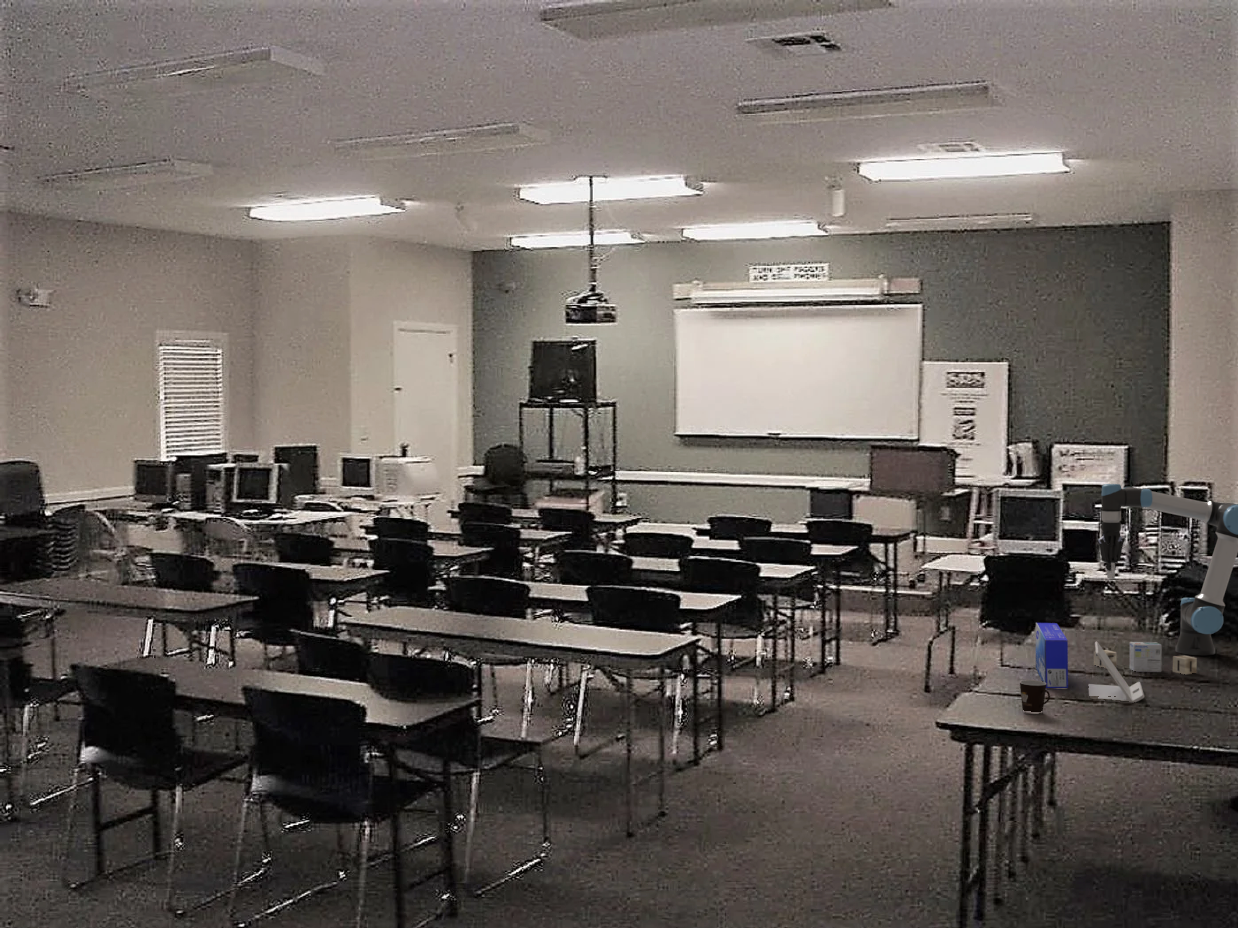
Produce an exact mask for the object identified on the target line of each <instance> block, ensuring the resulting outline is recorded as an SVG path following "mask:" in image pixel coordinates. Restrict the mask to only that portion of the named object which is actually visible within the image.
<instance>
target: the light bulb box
mask: <svg viewBox="0 0 1238 928" xmlns="http://www.w3.org/2000/svg"><path fill="white" fill-rule="evenodd" d="M1162 648H1163V647H1162V644H1161V643H1158V642H1157V641H1154V642H1153V641H1129V669H1130V670H1131V671H1132V670H1133V671H1132V672H1134V671H1136V673H1139V672H1143V673H1146V672H1147V673H1148V672H1149V673H1161V672H1162V656H1163V655H1162V654H1163V653H1162Z"/></svg>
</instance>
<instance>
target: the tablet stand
mask: <svg viewBox="0 0 1238 928" xmlns="http://www.w3.org/2000/svg"><path fill="white" fill-rule="evenodd" d="M1094 646H1095V648H1094V649H1095V651H1096V654H1097V656H1098V657H1099V658H1100V660H1101V661H1102V663H1103V664H1104V666H1105V667H1106V668H1105V669H1106V670H1107V671H1108V673H1109V674H1110V676H1111V677H1112V679H1113V680H1114V681H1115V683H1116V684H1117V685H1108V684H1093V683H1088V686H1089V688H1088V697H1089V696H1099V697H1098V699H1112V700H1121V701H1129V702H1128V703H1134V702H1135V703H1137V702H1139V701H1141V700H1143V699H1144V698H1145V693H1144V689H1143V686H1142V683H1141V682H1140V681H1137V682H1136V683H1134V684H1132V685H1131V686H1129V685H1128V683H1127V682H1126V680H1125V678H1123V676H1122V674H1121V673H1120V671H1118V669H1117V666H1116V667H1115V666H1114V665H1113V663H1112V662H1111V660H1110V659H1109V657H1108V656H1107V655H1106V653H1105V652H1104V650H1105V649H1103V647H1102V646H1101V645H1100V643H1099V642H1098V640H1097V641H1095V642H1094ZM1088 686H1087V687H1088ZM1108 696H1111V697H1108ZM1114 696H1116V697H1114Z"/></svg>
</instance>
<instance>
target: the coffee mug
mask: <svg viewBox="0 0 1238 928" xmlns="http://www.w3.org/2000/svg"><path fill="white" fill-rule="evenodd" d="M1046 684H1047V683H1045V682H1042V680H1033V679H1032V680H1031V679H1027V680H1026V679H1025V680H1020V681H1019V688H1020V689H1019V690H1020V697H1021V699H1020V701H1021V707H1022V711H1023V710H1024V711H1031V712H1041V711H1043V712H1044V706H1045V705H1046V704H1047V703H1048V702H1050V699H1051V694H1050V692H1049V691H1048V689H1046ZM1046 694H1047V699H1046V701H1045V698H1046Z"/></svg>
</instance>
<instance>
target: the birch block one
mask: <svg viewBox="0 0 1238 928" xmlns="http://www.w3.org/2000/svg"><path fill="white" fill-rule="evenodd" d="M1197 659H1198V658H1197V657H1194V656H1189V655H1177V656H1175V655H1174V656H1172V673H1176V674H1180V673H1181V675H1184V674H1185V675H1193V674H1192V673H1196V674H1197V669H1198V668H1197V664H1198V663H1197V661H1198V660H1197Z"/></svg>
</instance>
